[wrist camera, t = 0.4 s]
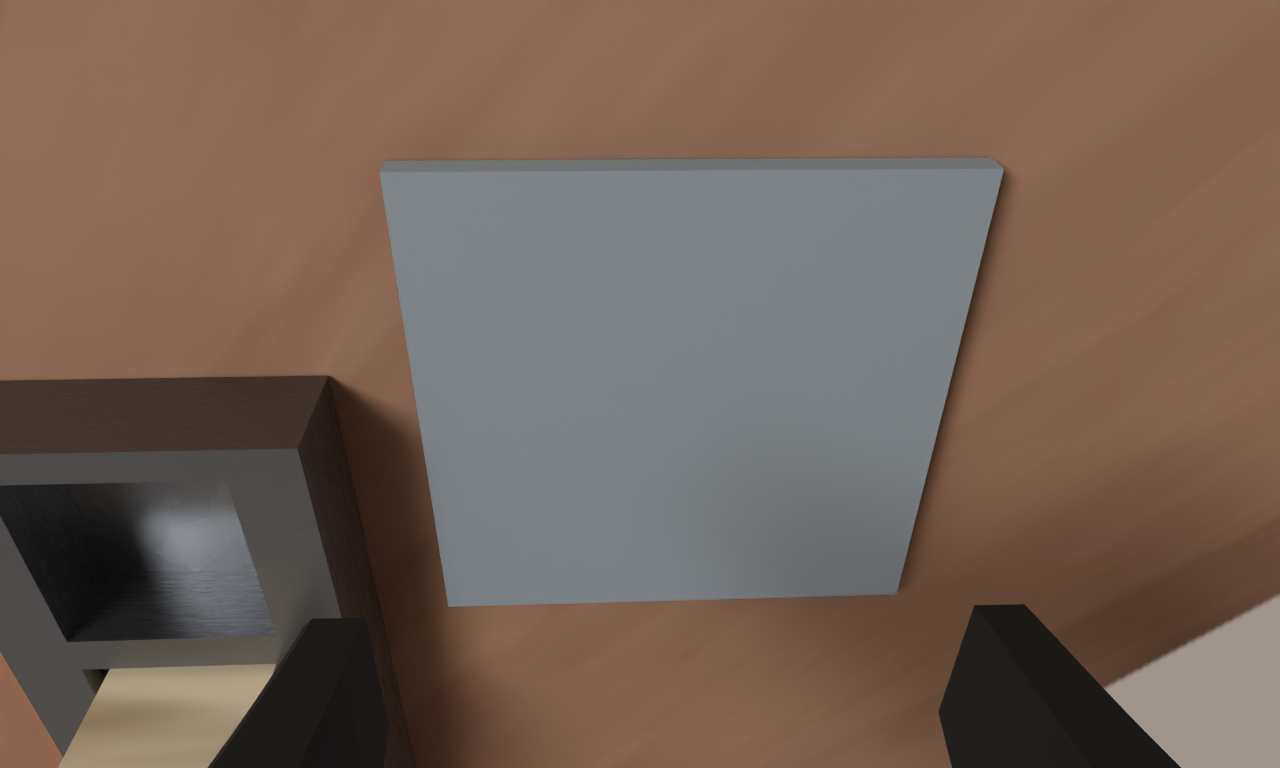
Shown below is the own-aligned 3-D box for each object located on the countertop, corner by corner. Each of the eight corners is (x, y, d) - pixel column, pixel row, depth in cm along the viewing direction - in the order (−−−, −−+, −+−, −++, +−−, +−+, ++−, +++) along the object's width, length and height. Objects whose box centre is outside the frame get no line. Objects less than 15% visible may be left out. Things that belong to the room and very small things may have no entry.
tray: (426, 816, 30) (413, 896, 28) (183, 826, 30) (153, 907, 28) (328, 375, 20) (297, 448, 18) (-41, 381, 20) (-116, 456, 18)
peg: (324, 699, 26) (263, 918, 21) (182, 704, 26) (88, 926, 21) (296, 605, 24) (220, 825, 19) (141, 609, 24) (23, 833, 19)
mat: (890, 577, 25) (896, 594, 24) (451, 589, 24) (448, 606, 24) (992, 157, 18) (1004, 168, 18) (385, 161, 18) (379, 172, 17)
